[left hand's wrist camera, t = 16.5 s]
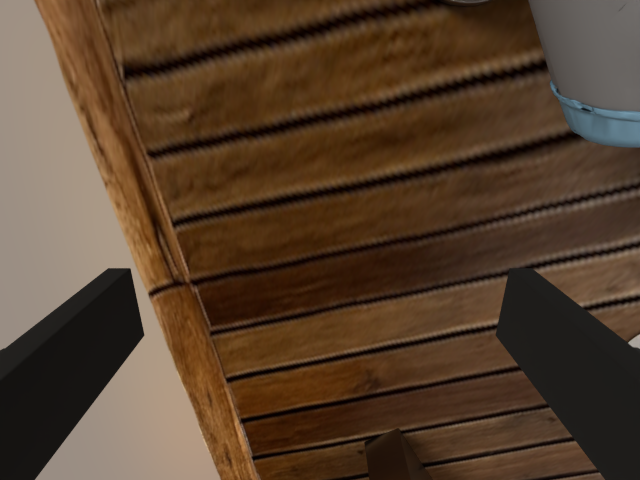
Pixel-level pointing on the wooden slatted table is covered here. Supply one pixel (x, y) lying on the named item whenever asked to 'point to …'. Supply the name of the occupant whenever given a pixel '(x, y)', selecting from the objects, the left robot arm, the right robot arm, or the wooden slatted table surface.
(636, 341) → the right robot arm
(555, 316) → the left robot arm
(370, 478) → the box
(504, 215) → the wooden slatted table surface
